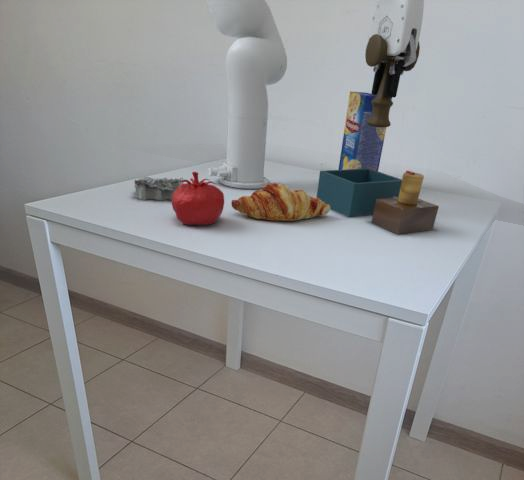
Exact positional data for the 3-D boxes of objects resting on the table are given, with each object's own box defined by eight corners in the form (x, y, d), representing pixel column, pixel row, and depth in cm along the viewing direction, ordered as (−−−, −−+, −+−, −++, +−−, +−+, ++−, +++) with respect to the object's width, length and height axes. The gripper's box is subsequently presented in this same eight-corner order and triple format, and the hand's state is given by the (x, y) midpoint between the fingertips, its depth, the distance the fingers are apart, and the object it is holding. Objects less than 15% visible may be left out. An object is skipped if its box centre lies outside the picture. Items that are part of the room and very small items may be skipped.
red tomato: (223, 230, 91) (225, 179, 86) (170, 228, 90) (168, 176, 85) (223, 215, 99) (224, 167, 94) (174, 212, 98) (172, 164, 93)
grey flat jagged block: (133, 199, 104) (131, 180, 102) (138, 191, 111) (137, 172, 108) (183, 202, 105) (182, 182, 103) (185, 193, 112) (185, 175, 109)
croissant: (321, 227, 108) (321, 191, 107) (339, 219, 98) (339, 179, 98) (228, 226, 103) (226, 187, 102) (237, 216, 93) (236, 174, 92)
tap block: (397, 234, 97) (403, 208, 94) (371, 222, 103) (375, 197, 100) (433, 230, 101) (439, 205, 99) (405, 218, 107) (411, 194, 104)
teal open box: (349, 217, 105) (354, 183, 101) (315, 201, 114) (319, 170, 110) (398, 211, 112) (405, 180, 108) (363, 197, 121) (369, 168, 117)
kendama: (404, 130, 103) (429, 16, 92) (365, 128, 100) (386, 10, 89) (389, 125, 108) (410, 17, 97) (351, 123, 104) (369, 11, 94)
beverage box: (359, 180, 137) (374, 93, 126) (374, 190, 128) (392, 97, 117) (336, 179, 136) (350, 91, 124) (350, 189, 127) (365, 95, 115)
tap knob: (421, 204, 99) (428, 174, 96) (407, 205, 97) (414, 175, 94) (407, 198, 102) (413, 170, 99) (393, 200, 100) (399, 171, 97)
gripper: (361, -15, 95) (345, 90, 105) (421, -20, 83) (397, 100, 93) (389, -10, 98) (371, 92, 108) (451, -13, 87) (424, 101, 96)
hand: (383, 95), depth 100 cm, fingers closed on kendama, 2 cm apart
